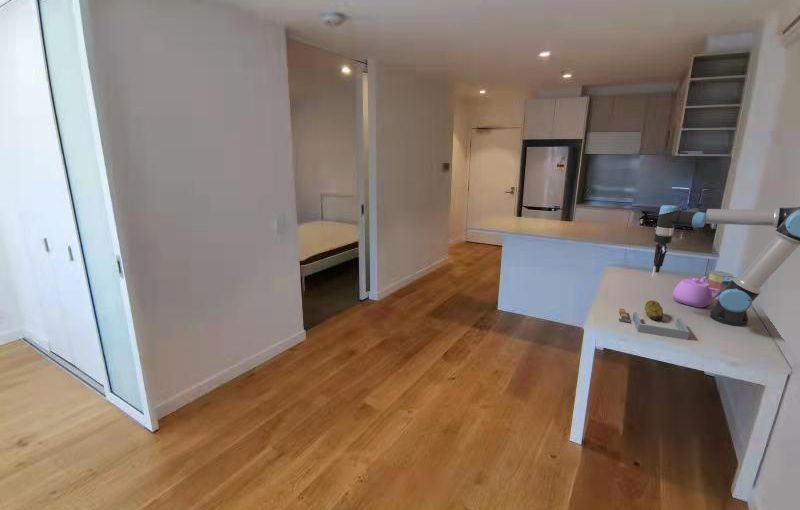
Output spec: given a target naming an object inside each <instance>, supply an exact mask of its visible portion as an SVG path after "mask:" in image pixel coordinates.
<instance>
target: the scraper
mask: <svg viewBox="0 0 800 510" xmlns="http://www.w3.org/2000/svg"><path fill="white" fill-rule="evenodd" d="M618 313H619V316H620V317H619V318H618V321H619V322H620V323H625V324H631V320H630V319H628V314H627V311H626V309H625V308H622V307H621V308H619V311H618Z"/></svg>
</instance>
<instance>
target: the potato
mask: <svg viewBox="0 0 800 510" xmlns="http://www.w3.org/2000/svg"><path fill="white" fill-rule="evenodd" d="M644 310H645V314H646V316H647V317H648V318H649V319H651V320H653V321H658V322H659V321H661V320H662V319H663V318H664V310H663V307H662V306H661V305H660V303H659V302H658V301H656V300H648V301H646V303H645V304H644Z"/></svg>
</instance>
